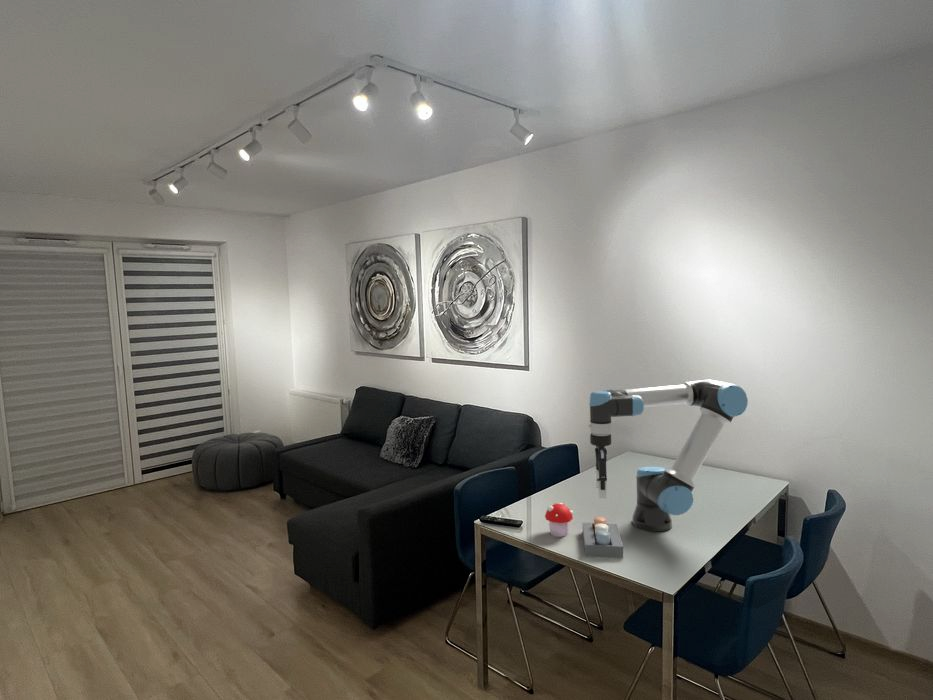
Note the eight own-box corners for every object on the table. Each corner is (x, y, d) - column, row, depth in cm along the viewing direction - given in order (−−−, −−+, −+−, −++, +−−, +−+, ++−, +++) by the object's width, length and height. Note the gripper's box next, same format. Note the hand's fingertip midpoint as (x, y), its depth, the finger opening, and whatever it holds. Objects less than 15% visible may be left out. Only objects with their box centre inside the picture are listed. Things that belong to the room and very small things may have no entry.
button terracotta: (606, 528, 208) (606, 517, 207) (607, 533, 203) (607, 522, 203) (593, 527, 208) (593, 516, 208) (594, 533, 204) (594, 521, 203)
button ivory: (607, 535, 201) (607, 523, 201) (609, 540, 197) (608, 529, 196) (594, 534, 202) (594, 523, 202) (595, 540, 197) (595, 528, 197)
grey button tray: (616, 533, 208) (616, 523, 208) (623, 557, 189) (623, 546, 188) (582, 532, 210) (582, 522, 210) (585, 555, 191) (585, 545, 190)
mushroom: (569, 527, 216) (569, 498, 215) (576, 539, 205) (575, 508, 204) (543, 528, 215) (542, 499, 214) (548, 540, 204) (548, 509, 203)
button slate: (609, 543, 195) (609, 531, 195) (610, 548, 190) (610, 536, 190) (596, 542, 196) (595, 530, 195) (597, 548, 191) (596, 536, 191)
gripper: (588, 426, 208) (589, 482, 210) (592, 441, 186) (592, 503, 187) (608, 426, 207) (608, 483, 208) (614, 441, 184) (615, 504, 186)
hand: (601, 492), depth 198 cm, fingers open, 10 cm apart
